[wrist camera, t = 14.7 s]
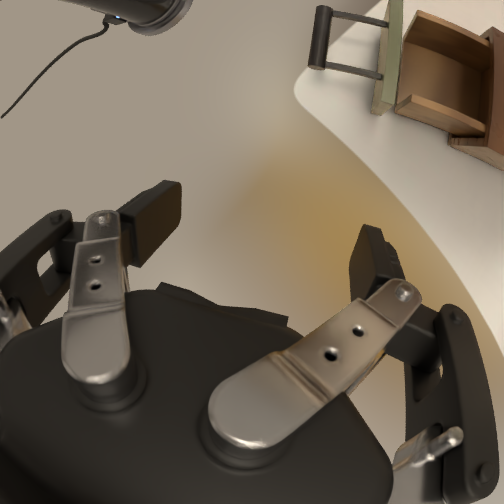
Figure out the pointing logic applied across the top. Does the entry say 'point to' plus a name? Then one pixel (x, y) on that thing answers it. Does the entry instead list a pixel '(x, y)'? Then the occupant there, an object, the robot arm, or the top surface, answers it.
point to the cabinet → (490, 110)
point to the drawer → (420, 68)
